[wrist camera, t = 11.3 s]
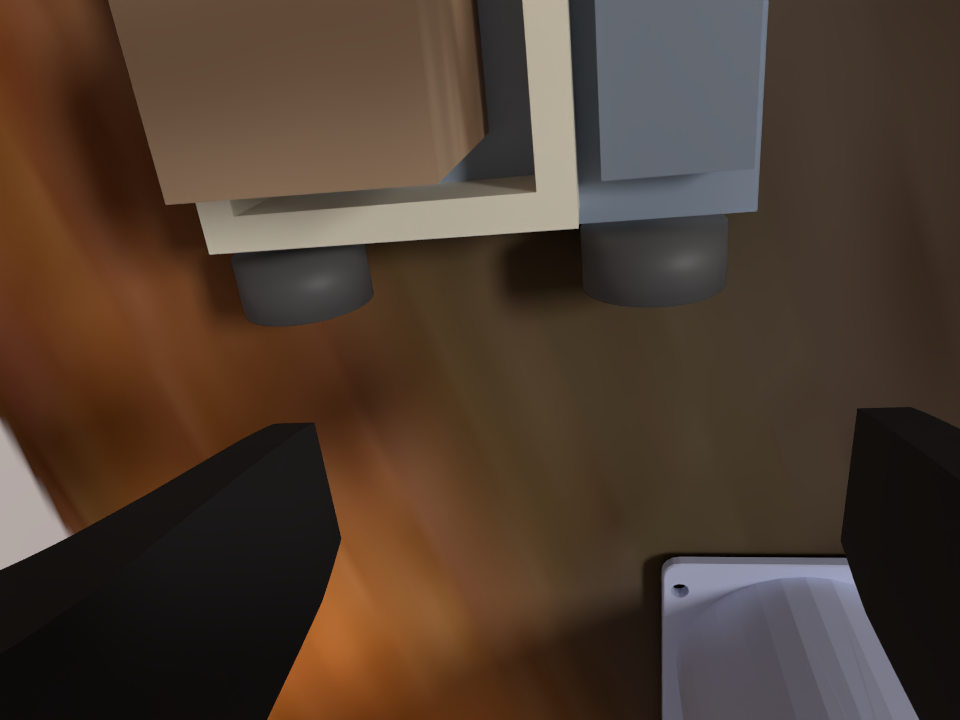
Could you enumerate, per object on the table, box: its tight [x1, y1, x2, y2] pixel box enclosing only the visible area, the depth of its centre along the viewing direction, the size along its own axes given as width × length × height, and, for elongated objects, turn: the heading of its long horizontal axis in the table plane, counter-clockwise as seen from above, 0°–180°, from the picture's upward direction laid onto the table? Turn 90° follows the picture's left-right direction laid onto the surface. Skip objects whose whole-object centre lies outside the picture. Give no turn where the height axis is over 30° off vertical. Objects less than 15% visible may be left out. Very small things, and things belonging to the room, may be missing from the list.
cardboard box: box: [108, 0, 489, 205], centre depth 13 cm, size 4×4×6 cm
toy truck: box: [196, 0, 768, 326], centre depth 15 cm, size 12×13×3 cm
